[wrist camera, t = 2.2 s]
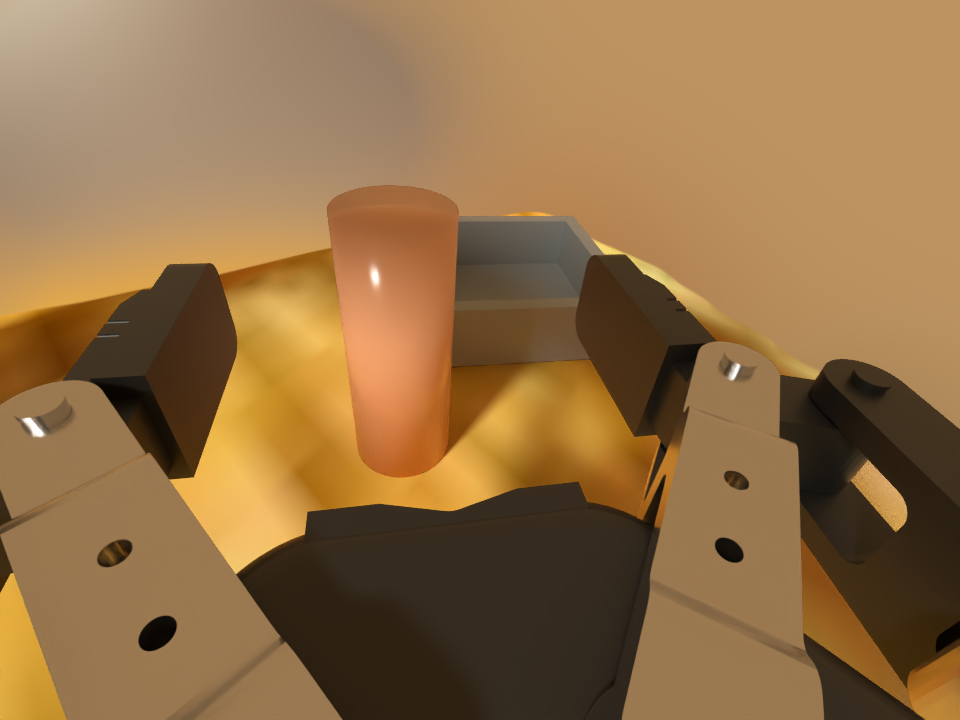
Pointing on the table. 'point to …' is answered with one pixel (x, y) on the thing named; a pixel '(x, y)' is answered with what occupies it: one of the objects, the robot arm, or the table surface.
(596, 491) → the table surface
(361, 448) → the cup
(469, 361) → the tote
